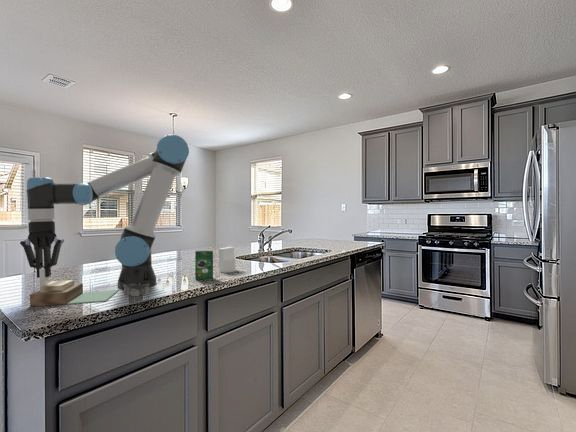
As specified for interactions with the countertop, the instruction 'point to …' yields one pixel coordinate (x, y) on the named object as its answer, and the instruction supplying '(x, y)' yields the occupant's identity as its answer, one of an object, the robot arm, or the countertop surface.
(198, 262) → the coffee box
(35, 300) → the tan wooden block
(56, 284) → the tile
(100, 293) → the mat
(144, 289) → the egg carton
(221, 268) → the white upright block
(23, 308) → the countertop surface
